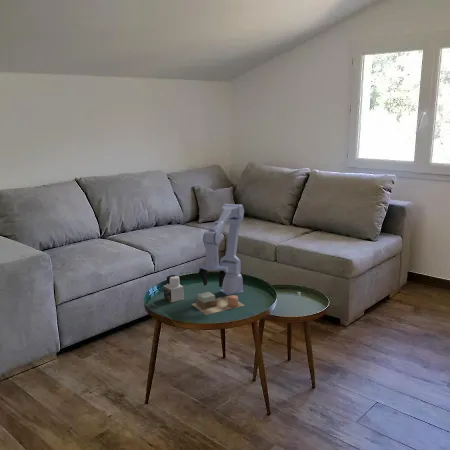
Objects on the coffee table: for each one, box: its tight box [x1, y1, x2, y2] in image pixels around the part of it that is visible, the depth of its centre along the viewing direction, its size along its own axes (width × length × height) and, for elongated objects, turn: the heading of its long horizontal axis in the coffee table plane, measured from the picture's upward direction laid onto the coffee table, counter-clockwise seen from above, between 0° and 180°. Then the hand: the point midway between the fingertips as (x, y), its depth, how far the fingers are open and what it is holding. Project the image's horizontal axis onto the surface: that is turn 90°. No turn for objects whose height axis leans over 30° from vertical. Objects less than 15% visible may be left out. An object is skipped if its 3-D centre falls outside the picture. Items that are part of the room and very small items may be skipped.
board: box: [191, 295, 245, 316], centre depth 226 cm, size 20×15×1 cm
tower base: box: [195, 298, 217, 309], centre depth 226 cm, size 7×7×2 cm
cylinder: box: [227, 294, 239, 308], centre depth 224 cm, size 5×5×4 cm
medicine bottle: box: [163, 274, 185, 303], centre depth 234 cm, size 7×7×12 cm
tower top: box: [197, 291, 216, 303], centre depth 225 cm, size 6×6×2 cm
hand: (213, 285), depth 225 cm, fingers open, 7 cm apart
